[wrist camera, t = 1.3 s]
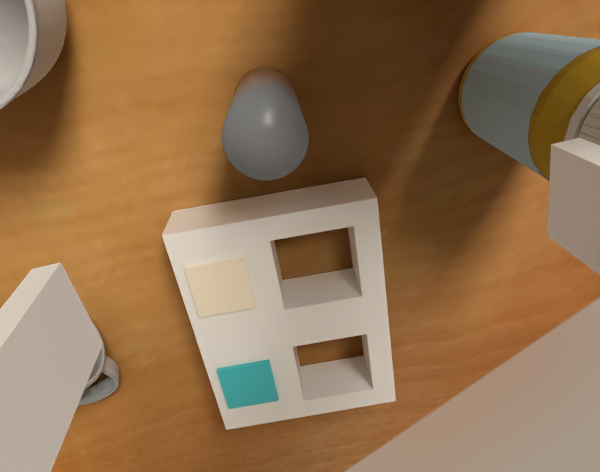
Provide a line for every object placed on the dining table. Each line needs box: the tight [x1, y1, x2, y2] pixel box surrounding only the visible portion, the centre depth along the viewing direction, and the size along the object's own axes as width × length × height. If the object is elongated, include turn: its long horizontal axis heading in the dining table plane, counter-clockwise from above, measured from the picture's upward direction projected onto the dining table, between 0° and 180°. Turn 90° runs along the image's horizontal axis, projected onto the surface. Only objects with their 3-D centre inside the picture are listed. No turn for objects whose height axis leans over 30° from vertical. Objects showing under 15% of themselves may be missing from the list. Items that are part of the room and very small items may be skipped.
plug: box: [222, 68, 309, 180], centre depth 26 cm, size 4×4×10 cm
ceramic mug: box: [78, 322, 119, 406], centre depth 35 cm, size 11×8×8 cm
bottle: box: [458, 32, 600, 181], centre depth 24 cm, size 7×7×15 cm
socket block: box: [162, 177, 396, 430], centre depth 35 cm, size 14×18×4 cm
